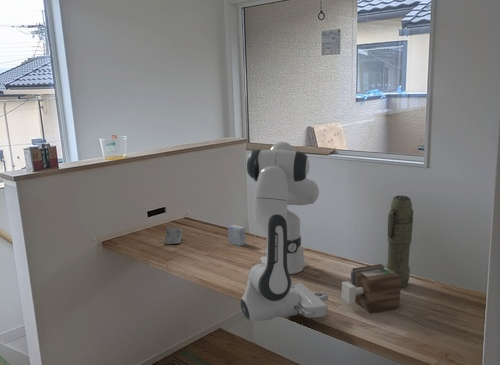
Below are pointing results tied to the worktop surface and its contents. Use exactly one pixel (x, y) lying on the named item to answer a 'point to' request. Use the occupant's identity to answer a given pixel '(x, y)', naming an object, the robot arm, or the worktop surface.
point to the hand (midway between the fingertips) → (326, 296)
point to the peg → (353, 287)
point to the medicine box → (236, 235)
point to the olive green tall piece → (400, 237)
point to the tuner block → (378, 289)
